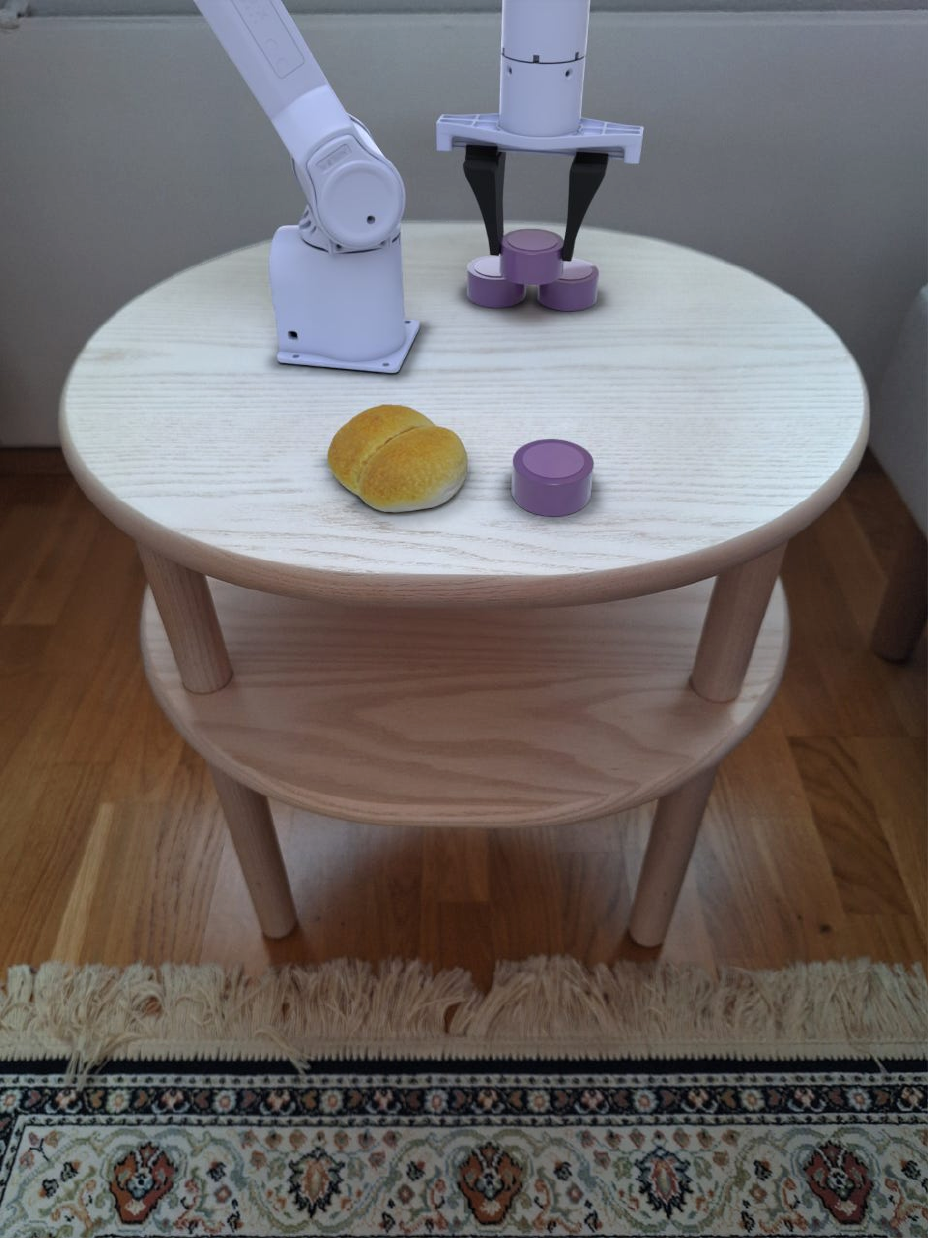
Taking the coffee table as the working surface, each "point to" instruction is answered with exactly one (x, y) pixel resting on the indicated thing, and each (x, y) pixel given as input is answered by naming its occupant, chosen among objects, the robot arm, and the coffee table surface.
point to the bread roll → (398, 459)
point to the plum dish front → (552, 477)
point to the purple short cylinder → (491, 284)
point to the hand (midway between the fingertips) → (532, 253)
